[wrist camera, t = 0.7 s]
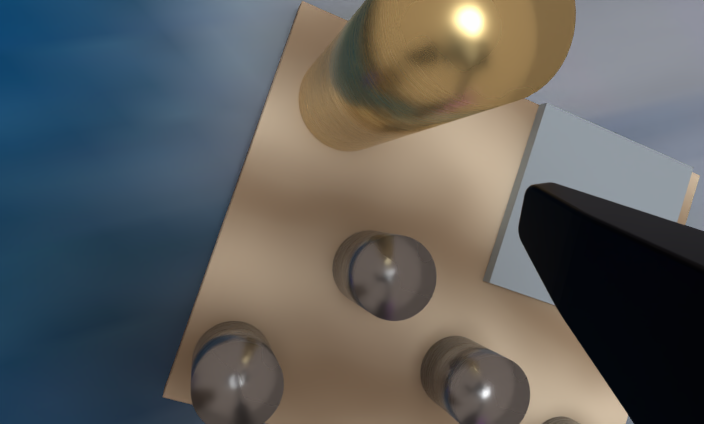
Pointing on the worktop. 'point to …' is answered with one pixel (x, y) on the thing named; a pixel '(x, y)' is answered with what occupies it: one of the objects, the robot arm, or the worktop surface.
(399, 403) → the board
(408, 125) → the tall brass spacer
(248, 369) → the short steel spacers
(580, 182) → the grey flat square plate
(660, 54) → the worktop surface
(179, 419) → the worktop surface
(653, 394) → the robot arm
